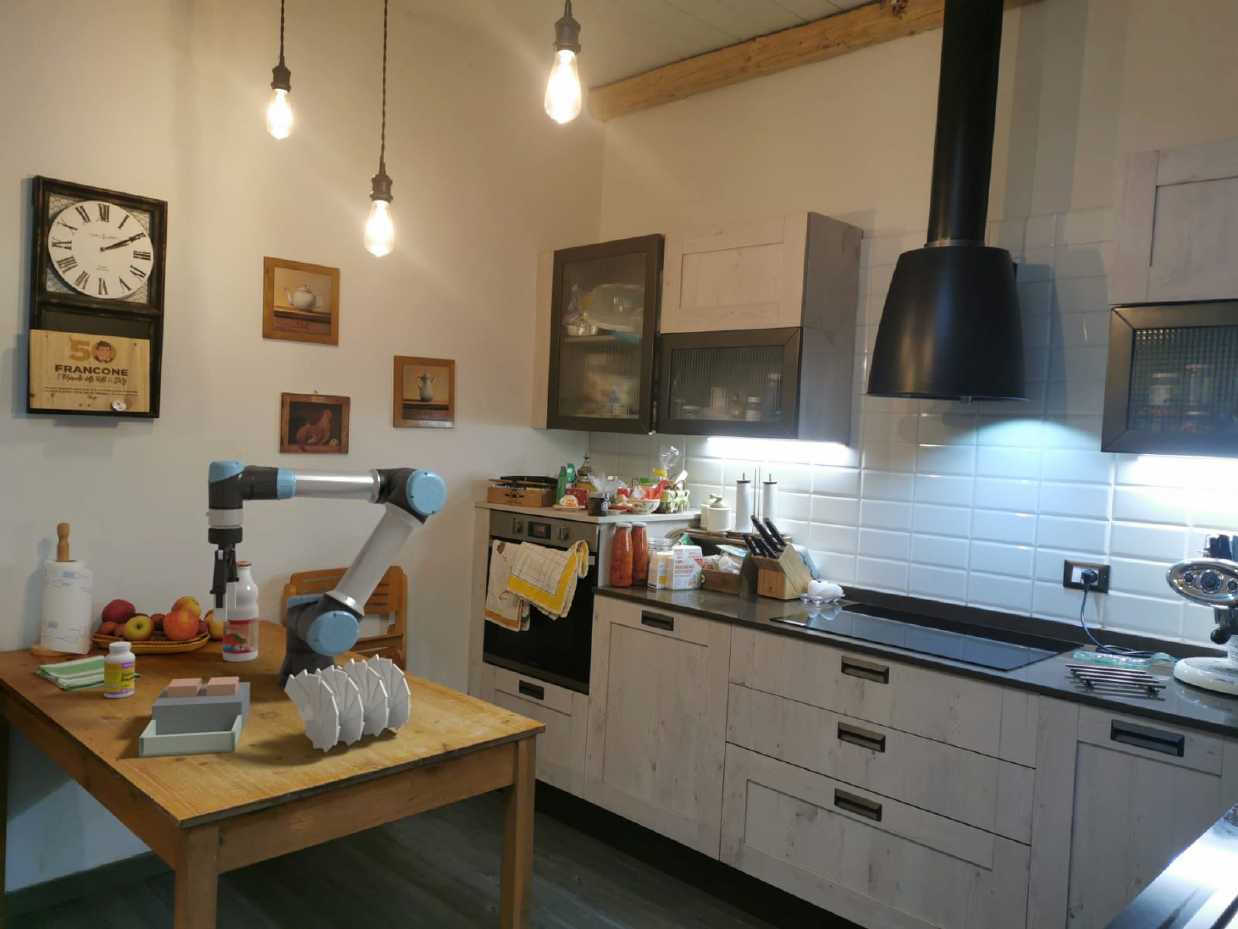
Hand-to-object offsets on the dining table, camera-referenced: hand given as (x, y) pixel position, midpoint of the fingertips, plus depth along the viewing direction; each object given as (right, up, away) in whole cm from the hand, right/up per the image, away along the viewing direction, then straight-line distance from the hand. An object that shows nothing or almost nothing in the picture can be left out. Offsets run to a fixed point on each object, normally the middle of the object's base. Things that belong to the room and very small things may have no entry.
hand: (224, 615), depth 215 cm
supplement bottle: (-30, -21, +9) cm, 38 cm away
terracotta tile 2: (-5, -16, -10) cm, 19 cm away
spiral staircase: (+35, -25, -16) cm, 46 cm away
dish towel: (-47, -21, +24) cm, 57 cm away
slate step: (-1, -23, -10) cm, 25 cm away
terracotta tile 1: (+3, -16, -8) cm, 18 cm away
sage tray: (+3, -24, -23) cm, 33 cm away
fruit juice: (-16, -20, +46) cm, 53 cm away
